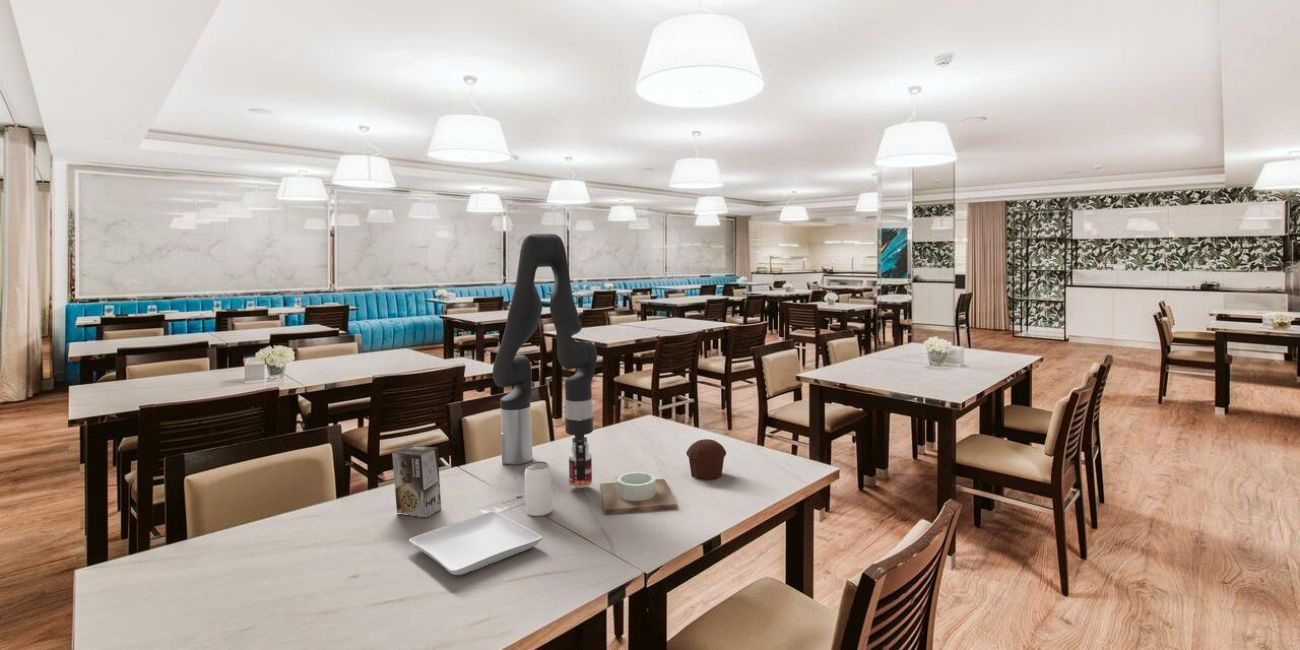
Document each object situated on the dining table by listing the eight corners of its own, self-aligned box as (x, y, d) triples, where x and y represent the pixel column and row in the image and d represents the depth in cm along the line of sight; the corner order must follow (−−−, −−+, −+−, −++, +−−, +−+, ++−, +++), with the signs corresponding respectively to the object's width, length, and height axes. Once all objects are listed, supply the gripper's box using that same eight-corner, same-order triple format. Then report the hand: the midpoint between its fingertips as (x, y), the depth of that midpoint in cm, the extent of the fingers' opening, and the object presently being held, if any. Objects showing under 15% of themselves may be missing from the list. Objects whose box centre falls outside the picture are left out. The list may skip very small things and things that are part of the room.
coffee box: (442, 508, 153) (439, 447, 152) (425, 519, 147) (421, 455, 146) (413, 504, 156) (409, 444, 155) (395, 514, 150) (391, 451, 149)
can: (527, 507, 153) (525, 461, 152) (553, 505, 154) (551, 460, 153) (524, 517, 147) (522, 470, 146) (551, 516, 147) (549, 468, 146)
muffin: (701, 484, 166) (701, 449, 165) (678, 473, 176) (678, 440, 175) (734, 476, 173) (734, 442, 172) (710, 465, 182) (710, 433, 181)
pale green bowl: (619, 502, 152) (619, 486, 152) (615, 487, 162) (615, 473, 162) (658, 499, 154) (658, 483, 153) (652, 484, 164) (652, 470, 163)
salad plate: (494, 522, 146) (493, 508, 145) (545, 550, 131) (544, 535, 130) (407, 552, 131) (406, 537, 131) (453, 588, 116) (452, 571, 116)
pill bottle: (574, 490, 161) (573, 450, 160) (565, 482, 166) (564, 444, 165) (595, 485, 164) (594, 446, 163) (586, 478, 169) (585, 440, 168)
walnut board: (605, 514, 148) (604, 509, 148) (600, 487, 166) (599, 483, 165) (677, 508, 151) (677, 503, 150) (664, 482, 168) (664, 478, 168)
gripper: (564, 409, 169) (566, 466, 171) (565, 422, 155) (567, 485, 157) (591, 407, 170) (592, 465, 172) (594, 421, 156) (596, 483, 158)
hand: (580, 474), depth 165 cm, fingers closed on pill bottle, 6 cm apart
